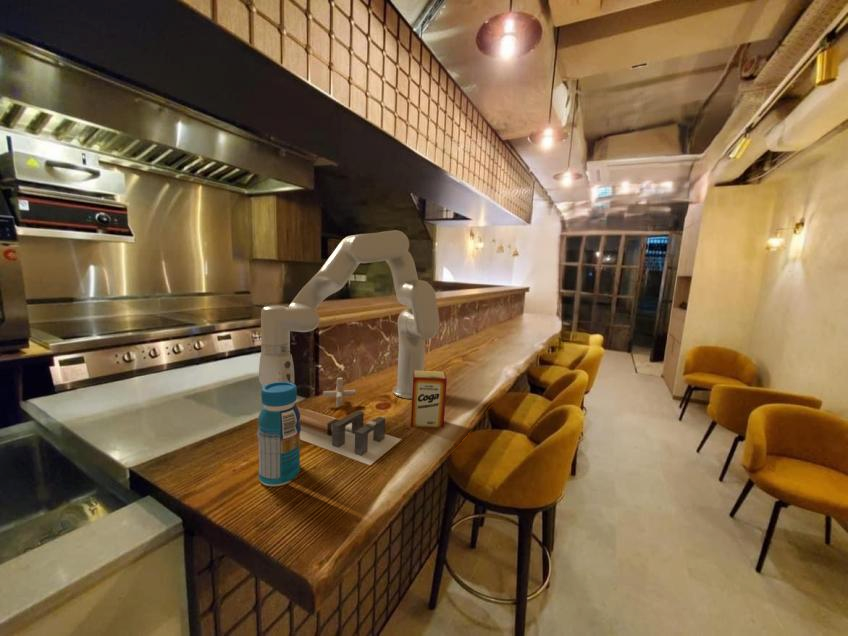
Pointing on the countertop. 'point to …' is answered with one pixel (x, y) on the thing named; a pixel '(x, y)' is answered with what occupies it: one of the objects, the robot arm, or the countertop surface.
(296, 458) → the beverage bottle
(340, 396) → the pipe connector
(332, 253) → the robot arm
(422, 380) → the baking soda box
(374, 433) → the front collar
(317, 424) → the bar
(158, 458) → the countertop surface
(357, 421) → the rear collar
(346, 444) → the white rail board
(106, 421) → the countertop surface
